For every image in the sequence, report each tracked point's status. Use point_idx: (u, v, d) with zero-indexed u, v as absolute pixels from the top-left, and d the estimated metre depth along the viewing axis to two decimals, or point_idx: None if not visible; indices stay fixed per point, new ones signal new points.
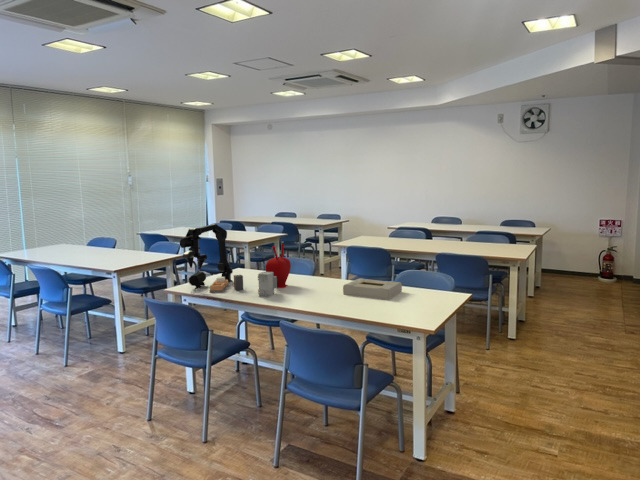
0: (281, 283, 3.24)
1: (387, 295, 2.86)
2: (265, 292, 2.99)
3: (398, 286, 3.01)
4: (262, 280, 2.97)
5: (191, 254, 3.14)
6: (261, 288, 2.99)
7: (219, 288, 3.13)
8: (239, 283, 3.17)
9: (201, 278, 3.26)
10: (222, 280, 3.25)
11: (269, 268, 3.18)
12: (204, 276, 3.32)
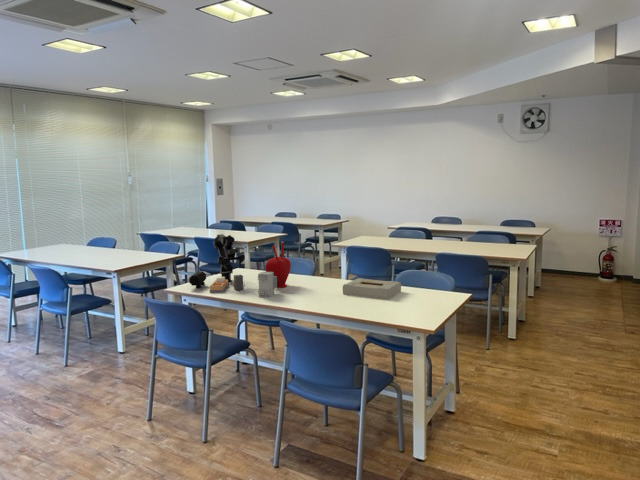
0: (281, 283, 3.24)
1: (387, 295, 2.87)
2: (265, 292, 2.99)
3: (397, 286, 3.01)
4: (262, 280, 2.97)
5: None
6: (261, 288, 2.99)
7: (219, 288, 3.13)
8: (239, 283, 3.17)
9: (201, 278, 3.26)
10: (222, 280, 3.25)
11: (269, 268, 3.18)
12: (204, 276, 3.32)
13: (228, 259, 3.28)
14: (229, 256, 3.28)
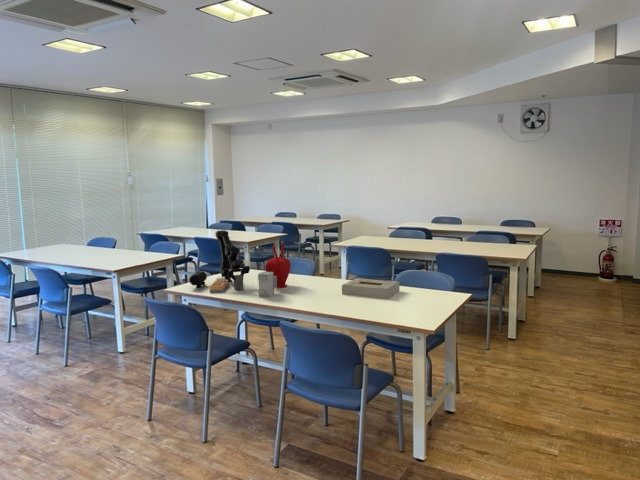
0: (281, 283, 3.24)
1: (386, 294, 2.88)
2: (265, 292, 2.99)
3: (396, 285, 3.03)
4: (262, 280, 2.97)
5: None
6: (261, 288, 2.99)
7: (219, 288, 3.13)
8: (239, 283, 3.17)
9: (202, 278, 3.27)
10: (222, 280, 3.25)
11: (269, 268, 3.18)
12: (205, 276, 3.33)
13: (233, 271, 3.21)
14: (234, 268, 3.21)
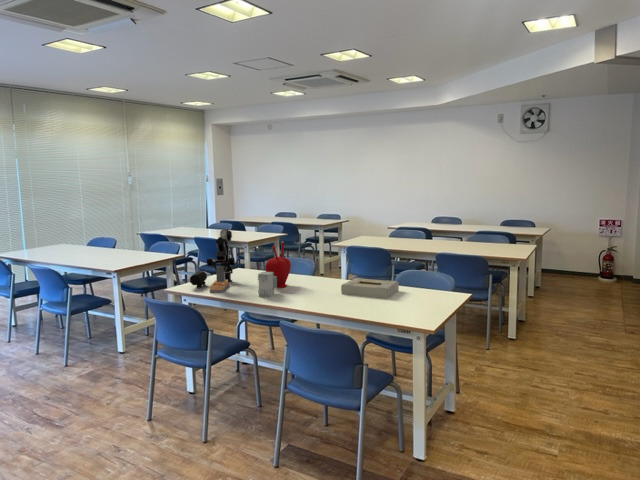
0: (281, 283, 3.24)
1: (386, 294, 2.89)
2: (265, 292, 2.99)
3: (395, 285, 3.04)
4: (262, 280, 2.97)
5: (226, 253, 3.17)
6: (261, 288, 2.99)
7: (219, 288, 3.13)
8: (219, 274, 3.14)
9: (202, 277, 3.28)
10: None
11: (269, 268, 3.18)
12: (205, 275, 3.34)
13: (217, 261, 3.19)
14: (218, 258, 3.19)
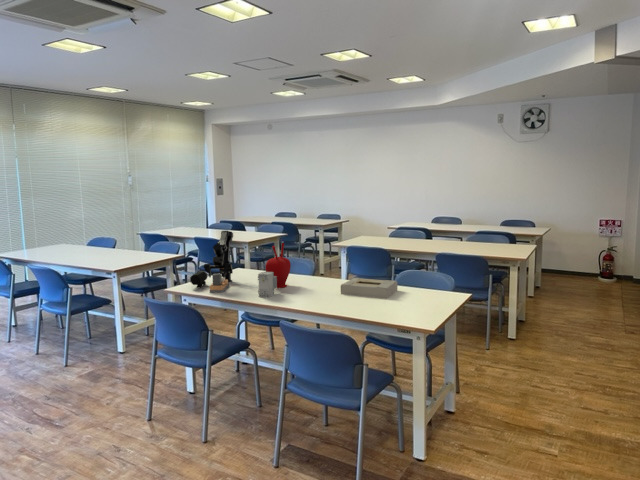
0: (281, 283, 3.24)
1: (386, 294, 2.90)
2: (265, 292, 2.99)
3: (394, 285, 3.05)
4: (262, 280, 2.97)
5: (223, 258, 3.17)
6: (261, 288, 2.99)
7: (219, 288, 3.13)
8: (215, 282, 3.14)
9: (202, 277, 3.28)
10: (222, 280, 3.25)
11: (269, 268, 3.18)
12: (205, 275, 3.34)
13: (214, 267, 3.20)
14: (215, 264, 3.19)
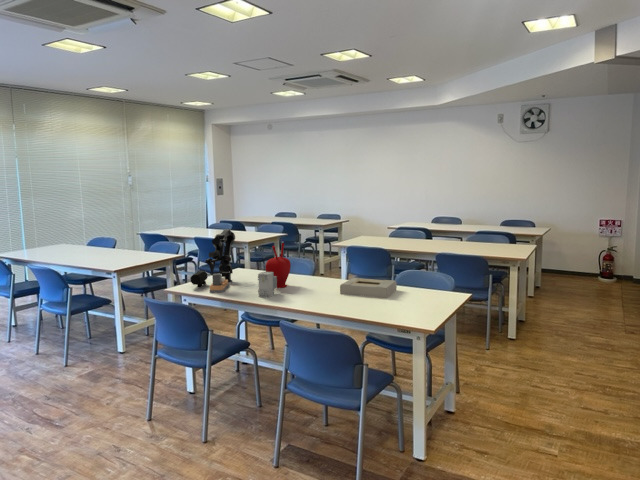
0: (281, 283, 3.24)
1: (385, 293, 2.90)
2: (265, 292, 2.99)
3: (394, 284, 3.06)
4: (262, 280, 2.97)
5: (217, 252, 3.20)
6: (261, 288, 2.99)
7: (219, 288, 3.13)
8: (215, 282, 3.14)
9: (202, 277, 3.29)
10: (222, 280, 3.25)
11: (269, 268, 3.18)
12: (205, 275, 3.35)
13: (215, 261, 3.26)
14: (215, 258, 3.25)
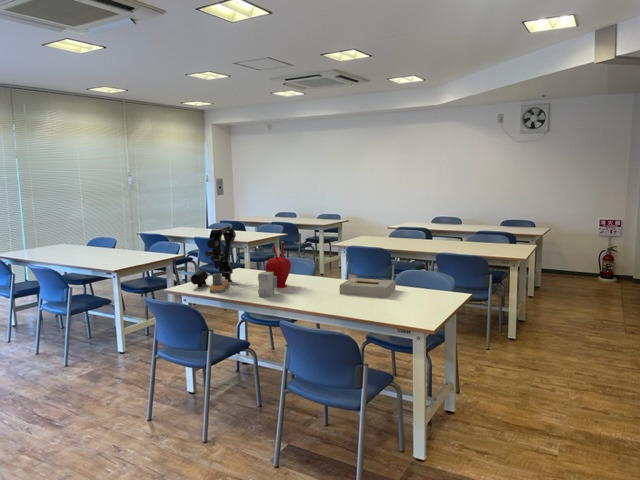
0: (281, 283, 3.24)
1: (385, 293, 2.91)
2: (265, 292, 2.99)
3: (393, 284, 3.07)
4: (262, 280, 2.97)
5: (207, 253, 3.26)
6: (261, 288, 2.99)
7: (219, 288, 3.13)
8: (215, 282, 3.14)
9: (203, 277, 3.29)
10: (222, 280, 3.25)
11: (269, 268, 3.18)
12: (206, 275, 3.35)
13: None
14: None
